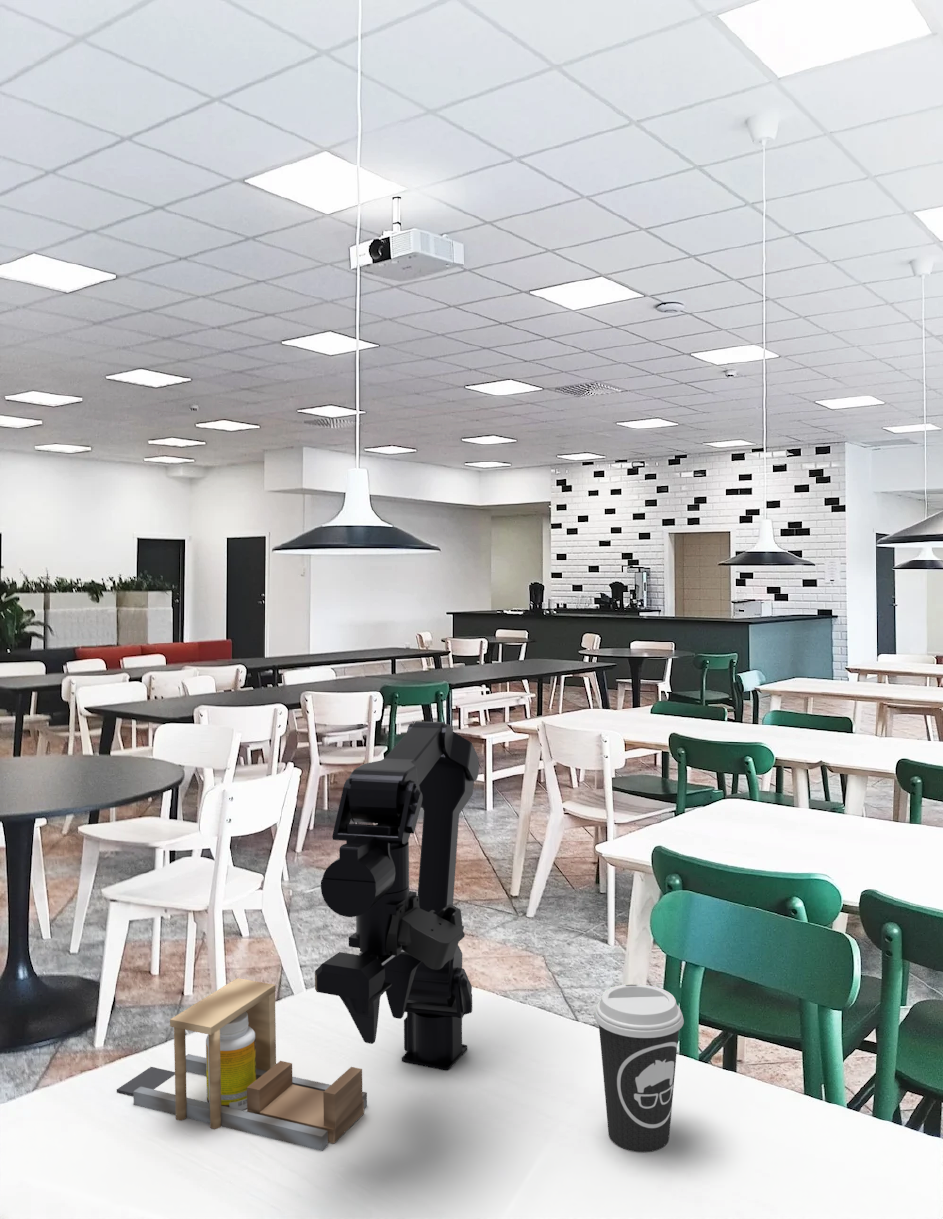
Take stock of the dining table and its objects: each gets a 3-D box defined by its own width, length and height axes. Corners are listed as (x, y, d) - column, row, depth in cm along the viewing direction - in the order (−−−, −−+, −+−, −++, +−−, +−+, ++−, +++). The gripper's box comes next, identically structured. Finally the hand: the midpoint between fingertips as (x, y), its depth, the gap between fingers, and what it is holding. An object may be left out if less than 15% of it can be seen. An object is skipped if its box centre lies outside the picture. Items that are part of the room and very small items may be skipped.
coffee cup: (689, 1120, 113) (689, 987, 113) (677, 1167, 104) (677, 1023, 104) (604, 1106, 117) (603, 976, 116) (585, 1151, 108) (585, 1010, 107)
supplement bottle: (265, 1104, 117) (263, 1017, 117) (220, 1121, 114) (218, 1031, 114) (242, 1086, 122) (241, 1001, 121) (198, 1101, 118) (197, 1014, 118)
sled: (364, 1113, 115) (363, 1067, 115) (333, 1143, 109) (333, 1095, 109) (280, 1094, 119) (280, 1050, 119) (247, 1122, 113) (246, 1076, 113)
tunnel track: (372, 1102, 118) (371, 1001, 117) (315, 1159, 106) (313, 1048, 106) (195, 1063, 127) (193, 970, 127) (125, 1112, 116) (123, 1009, 116)
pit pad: (177, 1074, 125) (177, 1072, 125) (143, 1098, 119) (143, 1095, 119) (151, 1068, 126) (151, 1066, 126) (116, 1091, 121) (116, 1089, 121)
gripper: (411, 923, 97) (412, 1084, 98) (485, 870, 114) (486, 1007, 115) (310, 909, 102) (313, 1063, 102) (396, 860, 119) (398, 992, 119)
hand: (384, 1029), depth 110 cm, fingers open, 6 cm apart
